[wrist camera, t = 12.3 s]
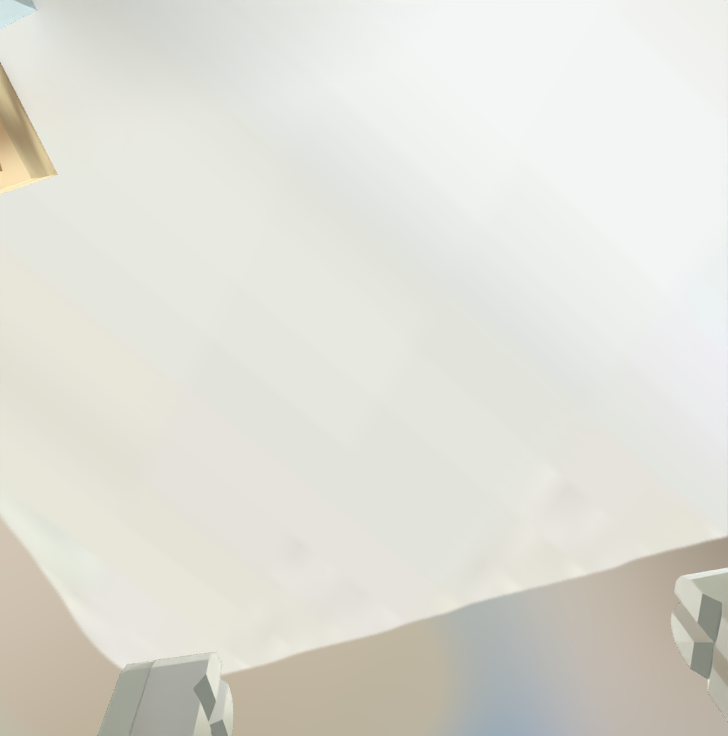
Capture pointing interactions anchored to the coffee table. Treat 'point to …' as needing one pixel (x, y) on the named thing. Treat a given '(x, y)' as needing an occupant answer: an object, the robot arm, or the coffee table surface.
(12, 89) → the oak base block
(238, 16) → the coffee table surface
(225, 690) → the robot arm
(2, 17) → the grey-blue block
